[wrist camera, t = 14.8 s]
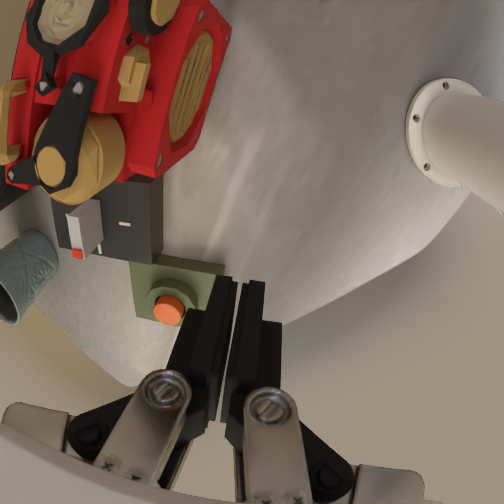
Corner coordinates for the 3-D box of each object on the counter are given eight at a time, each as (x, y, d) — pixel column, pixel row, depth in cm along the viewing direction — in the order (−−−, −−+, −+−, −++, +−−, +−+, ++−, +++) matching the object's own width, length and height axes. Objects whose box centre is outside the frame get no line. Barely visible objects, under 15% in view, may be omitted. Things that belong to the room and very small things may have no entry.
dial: (88, 198, 30) (65, 216, 26) (100, 199, 30) (76, 218, 26) (93, 237, 32) (72, 258, 28) (103, 239, 32) (83, 261, 28)
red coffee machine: (196, 154, 31) (97, 249, 14) (114, 133, 30) (-21, 201, 13) (240, 16, 23) (178, -78, 6) (148, 3, 22) (17, -47, 5)
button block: (224, 265, 38) (219, 284, 34) (219, 322, 43) (214, 342, 39) (135, 250, 38) (122, 267, 34) (141, 307, 43) (131, 325, 39)
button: (184, 297, 36) (180, 306, 35) (184, 318, 38) (181, 327, 37) (156, 292, 36) (152, 301, 35) (158, 313, 38) (154, 322, 37)
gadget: (163, 171, 32) (149, 183, 28) (163, 248, 37) (151, 266, 34) (66, 164, 32) (47, 175, 29) (74, 233, 37) (58, 248, 34)
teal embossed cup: (70, 276, 42) (29, 327, 31) (34, 280, 43) (-3, 323, 33) (44, 219, 37) (-8, 263, 26) (10, 230, 38) (-35, 269, 28)
